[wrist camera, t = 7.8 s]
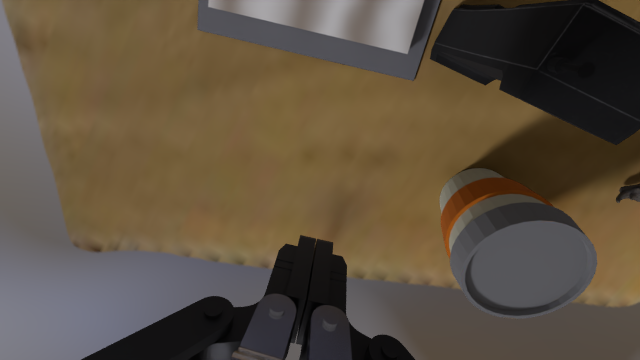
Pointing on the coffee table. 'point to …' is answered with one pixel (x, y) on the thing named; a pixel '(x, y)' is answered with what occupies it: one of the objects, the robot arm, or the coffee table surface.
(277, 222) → the coffee table surface
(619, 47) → the portable radio
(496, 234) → the reusable coffee cup
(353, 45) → the underlay mat
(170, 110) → the coffee table surface
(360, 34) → the plank
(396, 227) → the coffee table surface
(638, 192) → the rhino figurine
